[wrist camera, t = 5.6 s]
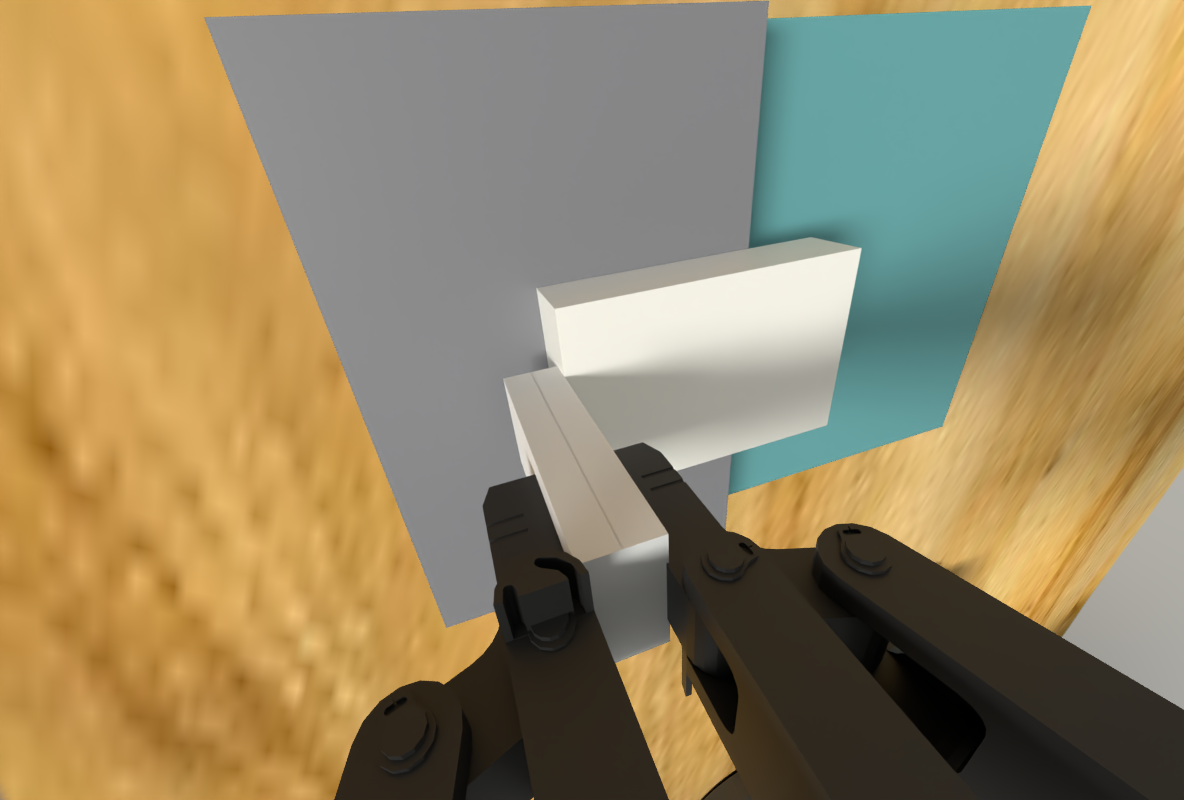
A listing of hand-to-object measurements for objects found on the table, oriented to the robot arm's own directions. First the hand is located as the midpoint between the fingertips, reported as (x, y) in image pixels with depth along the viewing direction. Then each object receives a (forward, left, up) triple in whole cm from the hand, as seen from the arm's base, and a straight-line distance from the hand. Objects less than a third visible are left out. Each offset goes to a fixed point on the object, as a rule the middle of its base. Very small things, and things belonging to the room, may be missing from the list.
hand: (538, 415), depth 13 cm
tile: (0, -5, -1) cm, 5 cm away
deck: (0, -1, -4) cm, 5 cm away
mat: (0, -15, -4) cm, 16 cm away
